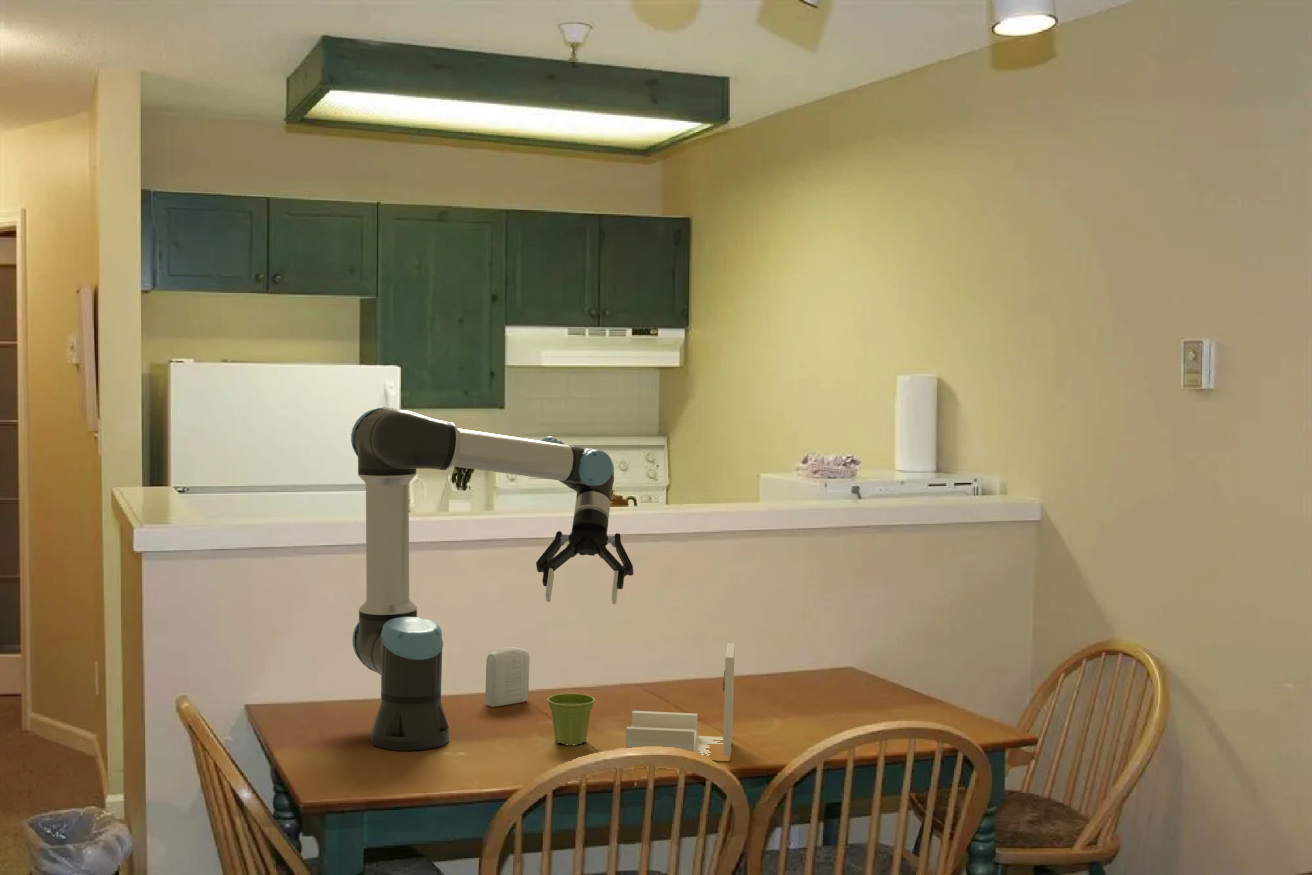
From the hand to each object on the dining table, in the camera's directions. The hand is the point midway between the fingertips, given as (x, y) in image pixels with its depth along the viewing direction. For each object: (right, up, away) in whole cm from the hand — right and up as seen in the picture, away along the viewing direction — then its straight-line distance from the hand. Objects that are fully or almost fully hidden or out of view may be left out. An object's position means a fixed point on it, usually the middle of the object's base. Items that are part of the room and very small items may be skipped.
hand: (580, 599), depth 288 cm
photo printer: (-17, -25, +21) cm, 37 cm away
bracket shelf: (+20, -28, -13) cm, 37 cm away
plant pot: (-2, -27, -9) cm, 29 cm away
